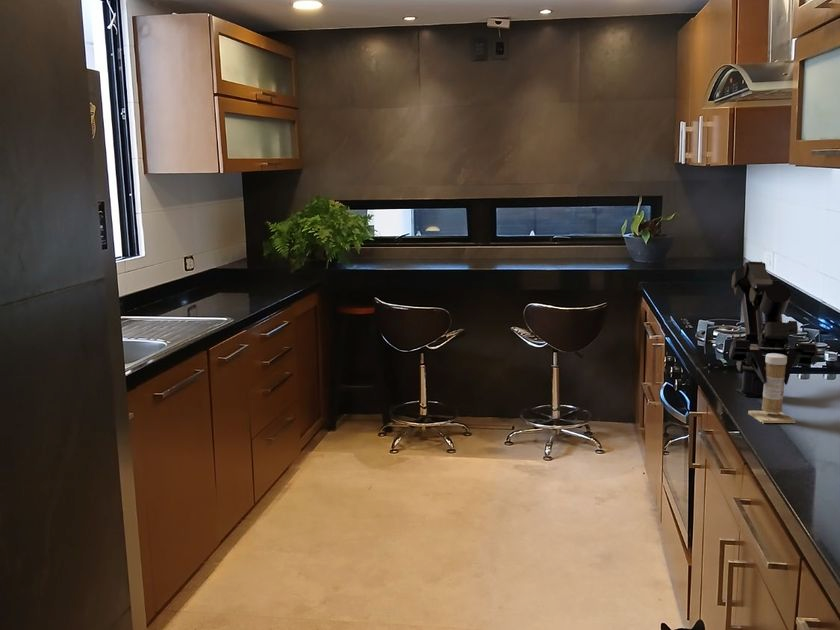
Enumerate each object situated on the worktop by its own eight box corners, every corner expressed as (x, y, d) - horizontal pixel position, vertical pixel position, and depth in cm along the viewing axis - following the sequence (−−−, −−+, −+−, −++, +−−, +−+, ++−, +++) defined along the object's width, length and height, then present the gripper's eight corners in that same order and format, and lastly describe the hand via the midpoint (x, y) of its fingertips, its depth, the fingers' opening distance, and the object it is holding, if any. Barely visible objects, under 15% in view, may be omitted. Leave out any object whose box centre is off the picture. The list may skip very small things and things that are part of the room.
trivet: (748, 413, 199) (748, 410, 199) (779, 413, 199) (779, 410, 199) (763, 423, 191) (763, 419, 191) (795, 423, 191) (795, 419, 191)
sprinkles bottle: (767, 407, 198) (772, 351, 196) (786, 411, 194) (791, 355, 192) (757, 410, 195) (761, 354, 193) (775, 415, 192) (780, 357, 189)
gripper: (734, 306, 196) (738, 362, 188) (820, 309, 193) (828, 367, 184) (727, 332, 205) (730, 387, 197) (808, 336, 202) (815, 392, 193)
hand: (775, 383), depth 192 cm, fingers closed on sprinkles bottle, 4 cm apart
